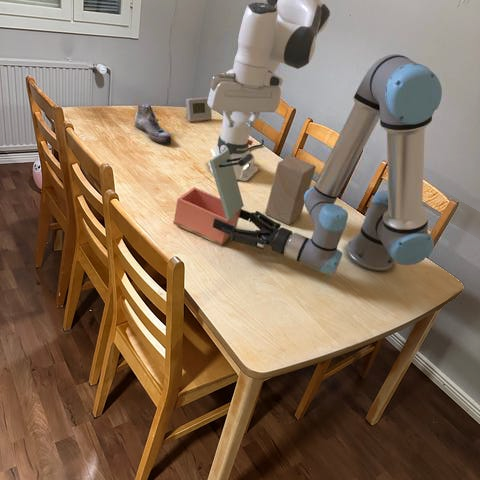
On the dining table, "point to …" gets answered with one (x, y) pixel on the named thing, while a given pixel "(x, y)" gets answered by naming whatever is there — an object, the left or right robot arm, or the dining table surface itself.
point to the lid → (228, 181)
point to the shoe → (151, 124)
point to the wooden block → (289, 189)
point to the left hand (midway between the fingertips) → (239, 126)
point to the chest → (202, 215)
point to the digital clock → (198, 109)
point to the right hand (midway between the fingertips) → (222, 215)
